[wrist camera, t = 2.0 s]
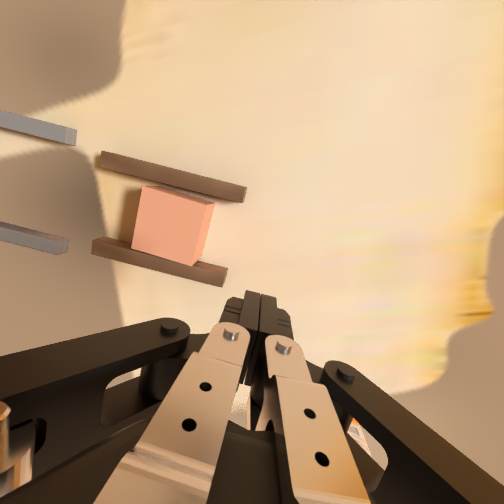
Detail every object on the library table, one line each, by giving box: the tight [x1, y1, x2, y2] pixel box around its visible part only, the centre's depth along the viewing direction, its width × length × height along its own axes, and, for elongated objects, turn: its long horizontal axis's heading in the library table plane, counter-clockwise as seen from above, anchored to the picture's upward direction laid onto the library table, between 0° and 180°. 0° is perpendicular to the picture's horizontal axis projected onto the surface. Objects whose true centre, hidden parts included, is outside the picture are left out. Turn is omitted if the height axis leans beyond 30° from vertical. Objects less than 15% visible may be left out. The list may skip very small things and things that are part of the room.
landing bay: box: [0, 110, 77, 255], centre depth 28 cm, size 13×12×2 cm
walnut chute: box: [91, 151, 247, 287], centre depth 27 cm, size 10×14×2 cm
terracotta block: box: [131, 186, 215, 266], centre depth 27 cm, size 6×6×4 cm
